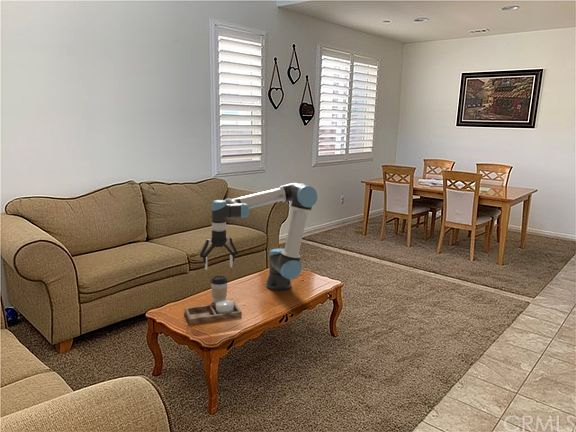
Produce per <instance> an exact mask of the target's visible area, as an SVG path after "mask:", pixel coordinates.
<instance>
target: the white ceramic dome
mask: <svg viewBox="0 0 576 432" xmlns="http://www.w3.org/2000/svg"><path fill="white" fill-rule="evenodd" d="M230 312H234V303H233V301H232V300H228V299H226V300H222V301H219V302H217V303H216V314H223V313H230Z"/></svg>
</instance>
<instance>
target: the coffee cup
mask: <svg viewBox="0 0 576 432" xmlns="http://www.w3.org/2000/svg"><path fill="white" fill-rule="evenodd" d="M210 283H211V284H210V287H211V297H212V304H216V303H217V302H219V301H222V300H227V295H228V278H226V276H224V275H216V276H213V278H211V280H210Z"/></svg>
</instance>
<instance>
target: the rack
mask: <svg viewBox="0 0 576 432" xmlns="http://www.w3.org/2000/svg"><path fill="white" fill-rule="evenodd" d="M232 302H233V303H234V312H230V313H223V314H216V304H214V303H212V304H205V305H197V306H189V307H184V314H185V316H186V319H187V322H188V323H189V325H196V324H201V323H208V322H214V321H221V320H229V319H235V318H241V317H242V316H243V315H242V313H243V312H242V311H241V309H240V307H239V306H238V305H237V304H236V302H235V301H232Z"/></svg>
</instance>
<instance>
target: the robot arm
mask: <svg viewBox="0 0 576 432" xmlns="http://www.w3.org/2000/svg"><path fill="white" fill-rule="evenodd" d="M317 201H318V192H317V190H316V189H315V188H314V187H313V186H311V185H309V184H306V183H303V182H299V181H295V182H291V183H290V182H289V183H286V184H283V185H279V187H278V188H273V189H269V190H265V191H261V192H257V193H253V194H252V193H251V194H247V195H245V196H244V195H243V196H240V197H235V198H229V197H228V198H225V199H216V200H215V199H214V200H213V201H212V202H211V239H209V238H206V239H205V241H204V244H203V246H202V249H201V251H200V252H199V257H200V258H202V263H203V264H204V270H205V271H208V256H209V254H210V253H211V252H212V251H213V250H214V249H215V248H222V247H224V248H225V249H226V250H227V251H228V252H229V253H230V254H229V267H230V268H231V269H233V266H234V265H233V263H234V261H235V257H236V255H238V254H239V253H238V250H237V248H236V246H235V243H234V242H233V239H232V237H231V236H230V237H227V219H238V218H239V219H241V218H242V219H243V218H248V217H249V215H250V209H253V208H257V207H262V206H265V205H266V206H267V205H270V204H274V203H278V202H282V203H286V202H291V203H290V207H291V208H292V212H291V213H292V214H291V218H290V222H289V226H288V231H287V236H286V241H285V245H284V248H273V249H270V251H269V254H268V255H269V260H268V261H269V262H268V263H269V267H268V268H269V269H268V272H269V273H268V276H267V279H266V282H265V287H266V288H267V289H269V290H274V291H285V290H288V289H290V288H291V287H292V282H291V281H292V279H296V278H298V277H299V275H300V274H301V273H302V264H301V258H302V256H301V255H300V249H301V246H302V240H303V236H304V232H305V227H306V223H307V218H308V214H309V212H312V208H313V206H314V205H316V203H317ZM227 242H228V243H229V245H230V246H231V248H232V250H233V251H232V250H231V248H230V247H229V246H228V245H227V244H226V243H227ZM210 243H211V244H210ZM209 244H210V246H209ZM208 246H209V248H208Z"/></svg>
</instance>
